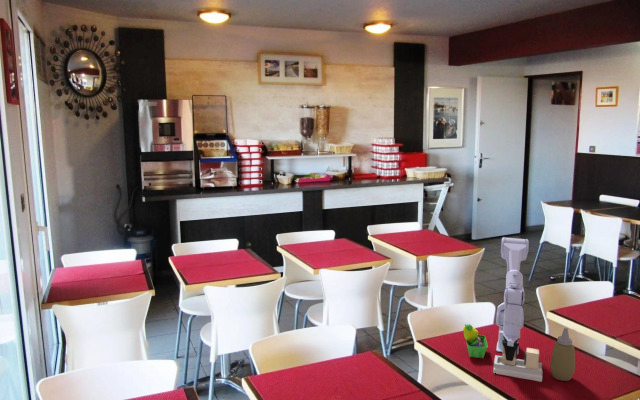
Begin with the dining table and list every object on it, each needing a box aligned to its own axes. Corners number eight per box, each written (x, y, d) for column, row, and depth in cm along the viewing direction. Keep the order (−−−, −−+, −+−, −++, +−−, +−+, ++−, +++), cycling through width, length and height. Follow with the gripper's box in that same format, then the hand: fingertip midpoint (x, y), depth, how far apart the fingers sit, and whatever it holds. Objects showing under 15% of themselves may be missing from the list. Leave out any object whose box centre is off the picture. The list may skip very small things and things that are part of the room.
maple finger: (502, 358, 193) (503, 340, 192) (516, 360, 191) (518, 342, 190) (501, 363, 189) (503, 344, 188) (516, 365, 187) (517, 346, 186)
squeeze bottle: (572, 374, 188) (577, 325, 185) (575, 384, 180) (580, 334, 178) (548, 370, 191) (552, 322, 188) (549, 380, 183) (554, 331, 180)
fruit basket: (487, 360, 198) (489, 331, 196) (462, 357, 200) (464, 329, 198) (484, 347, 209) (486, 320, 207) (461, 345, 211) (462, 318, 209)
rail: (494, 361, 197) (496, 339, 196) (541, 369, 191) (543, 347, 190) (493, 373, 188) (494, 350, 187) (541, 381, 182) (543, 358, 181)
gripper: (501, 313, 196) (498, 347, 198) (499, 326, 183) (496, 364, 185) (521, 315, 194) (518, 350, 196) (521, 330, 180) (518, 367, 182)
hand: (509, 357), depth 190 cm, fingers closed on maple finger, 4 cm apart
